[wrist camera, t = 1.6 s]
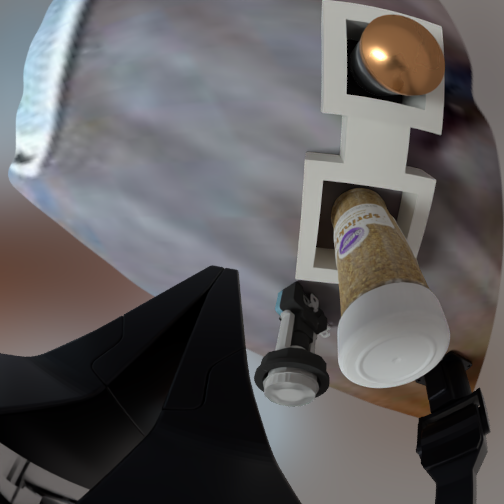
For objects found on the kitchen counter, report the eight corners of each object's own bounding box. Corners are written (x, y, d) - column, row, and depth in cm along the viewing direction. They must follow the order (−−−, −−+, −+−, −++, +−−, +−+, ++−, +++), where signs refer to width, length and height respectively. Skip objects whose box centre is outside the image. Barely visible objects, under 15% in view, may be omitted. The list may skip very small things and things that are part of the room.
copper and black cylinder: (407, 103, 13) (444, 105, 8) (346, 92, 14) (362, 85, 9) (407, 47, 11) (442, 29, 6) (346, 35, 11) (360, 6, 7)
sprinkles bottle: (347, 175, 18) (392, 297, 7) (397, 204, 18) (473, 338, 7) (319, 226, 21) (314, 376, 9) (367, 250, 21) (397, 399, 9)
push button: (349, 314, 24) (352, 405, 16) (306, 336, 27) (295, 422, 19) (306, 269, 23) (295, 365, 14) (262, 297, 26) (235, 387, 17)
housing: (397, 268, 21) (409, 302, 17) (298, 257, 22) (293, 291, 19) (427, 43, 11) (454, 31, 7) (307, 21, 13) (305, -2, 9)
